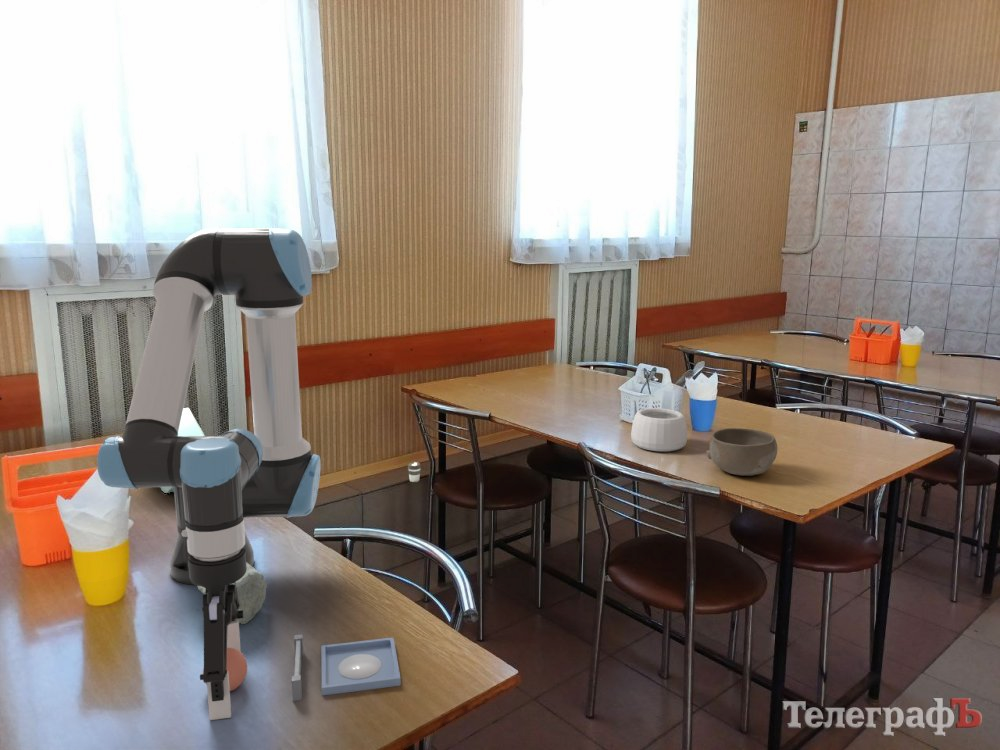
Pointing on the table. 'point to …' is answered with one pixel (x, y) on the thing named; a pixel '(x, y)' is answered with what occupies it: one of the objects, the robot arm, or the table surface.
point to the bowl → (742, 450)
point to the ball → (235, 668)
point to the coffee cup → (414, 471)
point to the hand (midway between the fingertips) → (226, 688)
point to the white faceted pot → (659, 429)
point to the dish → (359, 666)
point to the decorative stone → (249, 593)
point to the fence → (297, 668)
